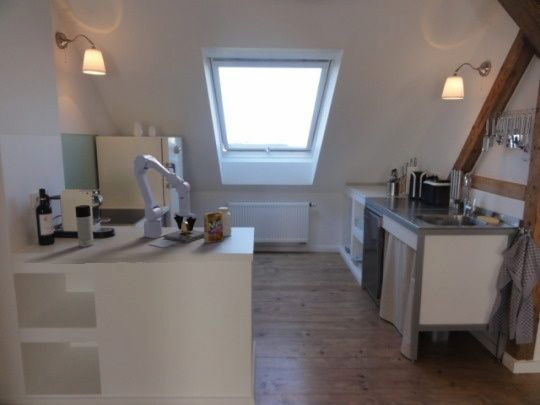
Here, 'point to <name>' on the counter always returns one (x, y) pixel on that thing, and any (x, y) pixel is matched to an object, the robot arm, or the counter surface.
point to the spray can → (84, 225)
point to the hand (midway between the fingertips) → (185, 230)
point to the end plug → (185, 229)
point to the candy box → (213, 227)
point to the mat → (164, 243)
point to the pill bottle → (226, 221)
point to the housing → (185, 239)
